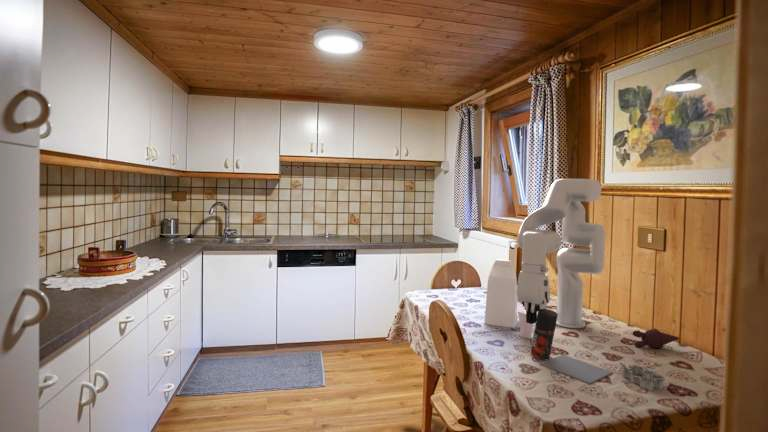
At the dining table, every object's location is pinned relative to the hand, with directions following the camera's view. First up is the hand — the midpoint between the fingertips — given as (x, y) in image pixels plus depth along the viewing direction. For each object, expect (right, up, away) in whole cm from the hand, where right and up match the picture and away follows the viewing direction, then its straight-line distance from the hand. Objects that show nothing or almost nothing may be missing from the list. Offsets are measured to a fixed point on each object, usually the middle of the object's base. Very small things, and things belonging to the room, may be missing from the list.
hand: (531, 322), depth 138 cm
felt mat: (+9, -11, -12) cm, 19 cm away
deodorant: (+2, -10, -2) cm, 11 cm away
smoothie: (+4, -10, +16) cm, 19 cm away
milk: (0, -9, +34) cm, 35 cm away
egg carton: (+25, -12, -19) cm, 34 cm away
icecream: (+47, -11, +8) cm, 49 cm away
